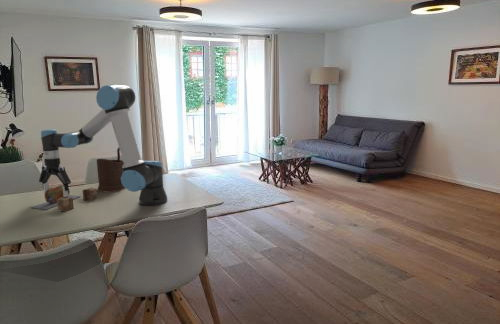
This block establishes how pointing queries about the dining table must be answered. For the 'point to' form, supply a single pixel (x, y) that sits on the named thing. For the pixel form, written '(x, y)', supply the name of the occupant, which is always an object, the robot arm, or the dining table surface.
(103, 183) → the brown tapered container
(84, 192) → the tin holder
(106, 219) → the dining table surface
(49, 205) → the mat
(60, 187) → the tin
